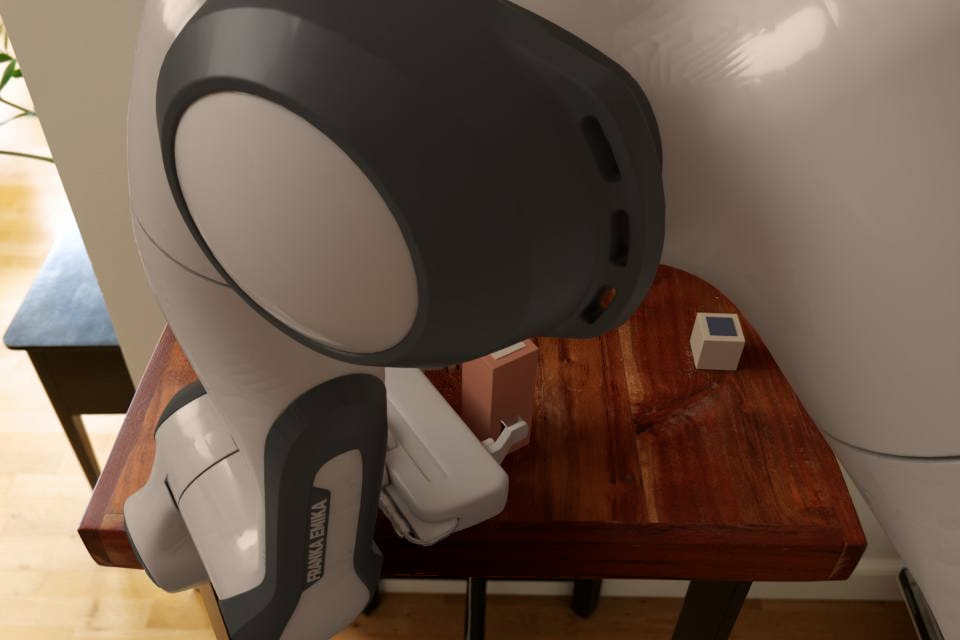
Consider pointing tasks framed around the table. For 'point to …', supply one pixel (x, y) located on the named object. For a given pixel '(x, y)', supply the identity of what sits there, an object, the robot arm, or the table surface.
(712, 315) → the block
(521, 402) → the tall block
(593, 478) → the table surface
